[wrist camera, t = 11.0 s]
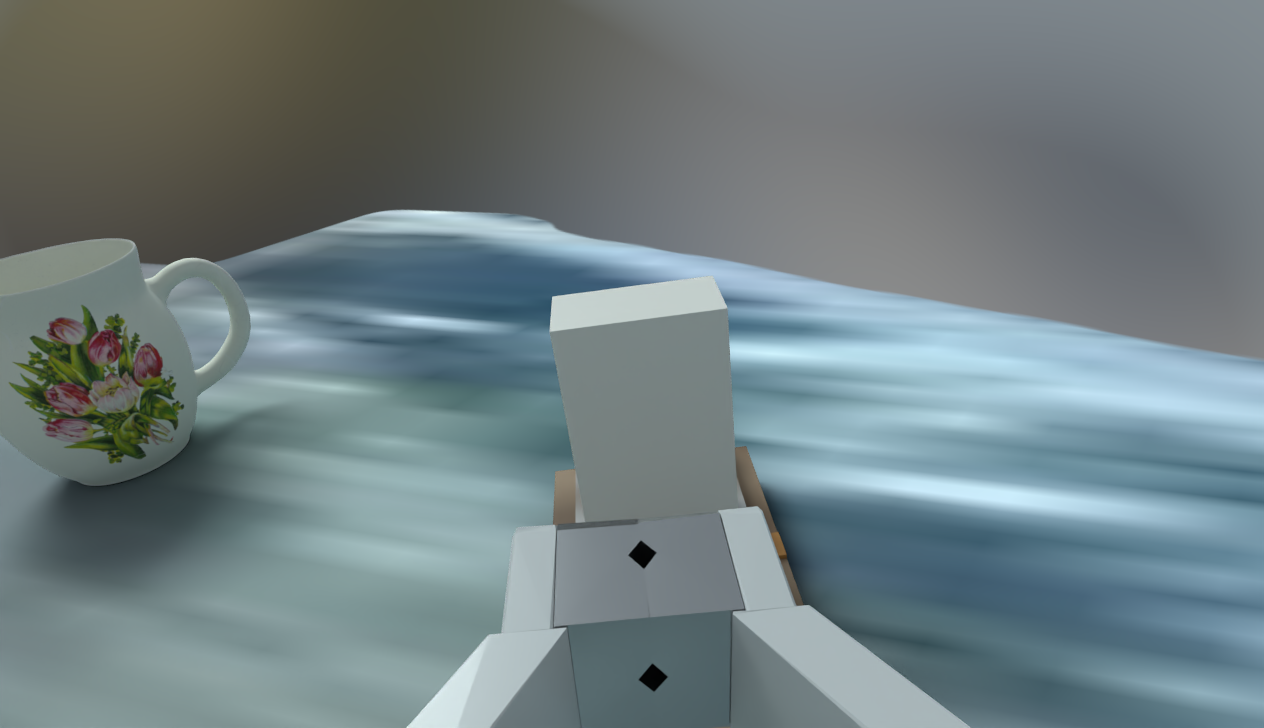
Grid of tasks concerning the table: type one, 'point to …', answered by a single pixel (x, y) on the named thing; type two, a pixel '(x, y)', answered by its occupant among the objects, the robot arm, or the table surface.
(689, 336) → the fader tab
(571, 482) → the fader track
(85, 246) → the pitcher
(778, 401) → the table surface
